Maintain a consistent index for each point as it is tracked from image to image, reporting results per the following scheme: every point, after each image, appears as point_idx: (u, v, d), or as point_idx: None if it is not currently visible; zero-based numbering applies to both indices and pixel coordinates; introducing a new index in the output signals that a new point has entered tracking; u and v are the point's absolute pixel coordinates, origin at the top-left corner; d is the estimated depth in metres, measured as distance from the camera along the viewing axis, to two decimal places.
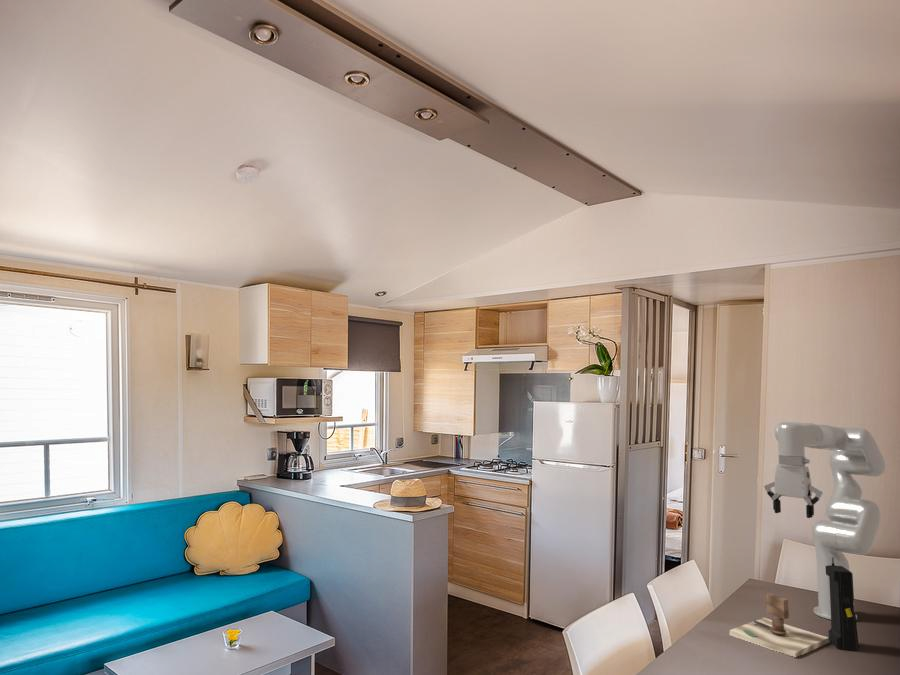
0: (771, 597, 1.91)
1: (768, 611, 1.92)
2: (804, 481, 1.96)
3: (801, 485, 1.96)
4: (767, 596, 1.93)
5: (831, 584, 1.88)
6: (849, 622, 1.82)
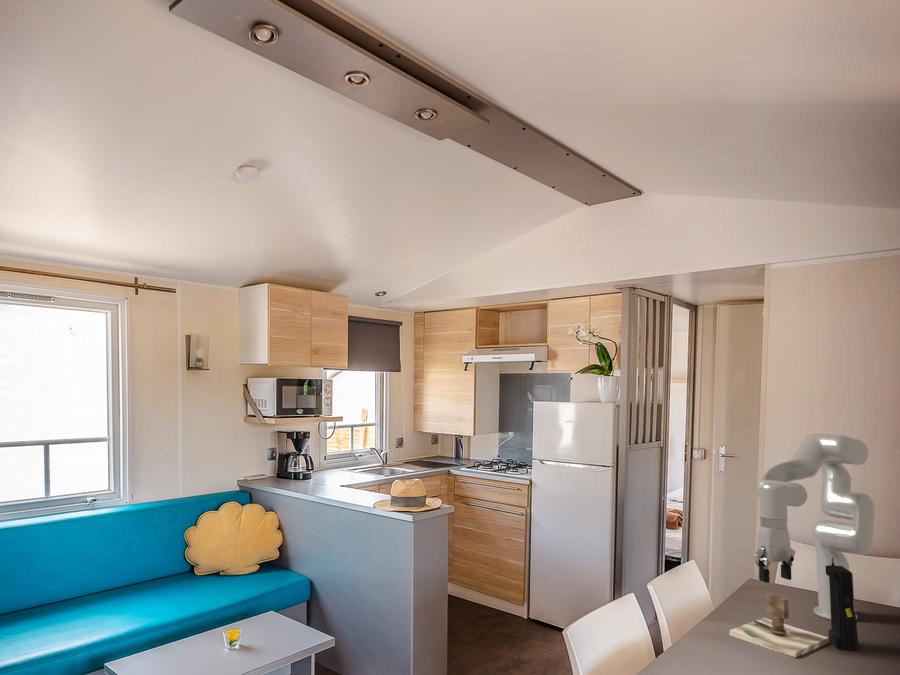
0: (771, 597, 1.91)
1: (768, 611, 1.92)
2: (789, 543, 1.92)
3: (788, 547, 1.91)
4: (767, 596, 1.93)
5: (831, 584, 1.88)
6: (849, 622, 1.82)
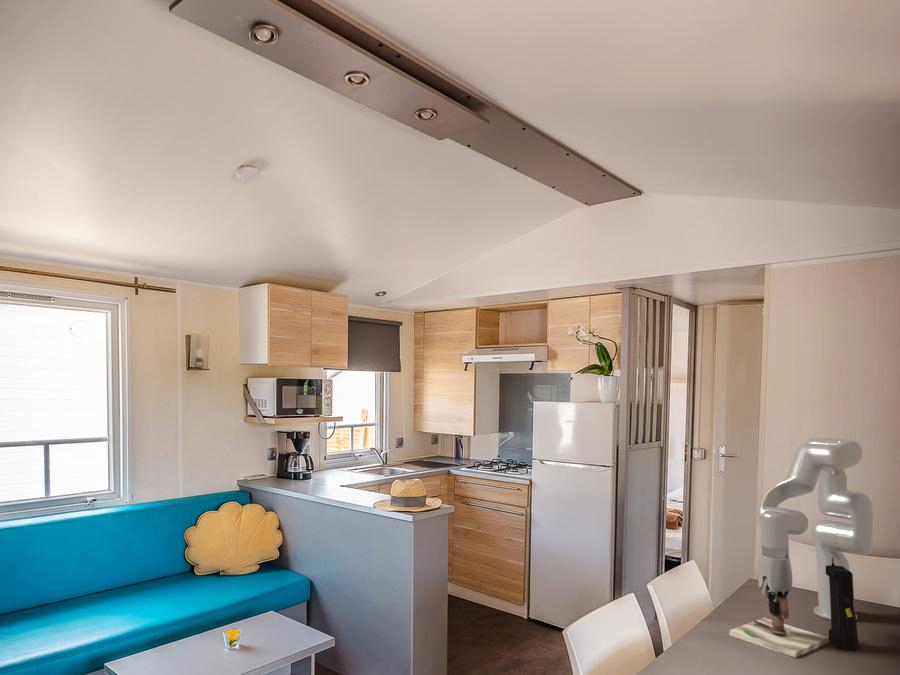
0: None
1: (768, 611, 1.92)
2: (791, 571, 1.91)
3: (790, 576, 1.91)
4: None
5: (831, 584, 1.88)
6: (849, 622, 1.82)
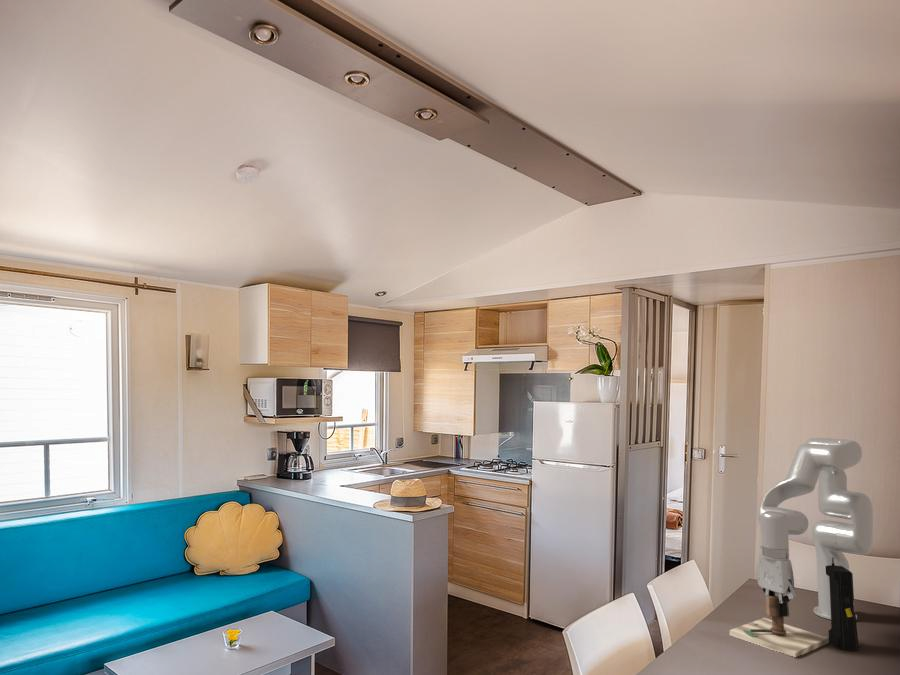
0: (774, 599, 1.90)
1: (771, 614, 1.89)
2: None
3: None
4: (770, 599, 1.90)
5: (831, 584, 1.88)
6: (849, 622, 1.82)
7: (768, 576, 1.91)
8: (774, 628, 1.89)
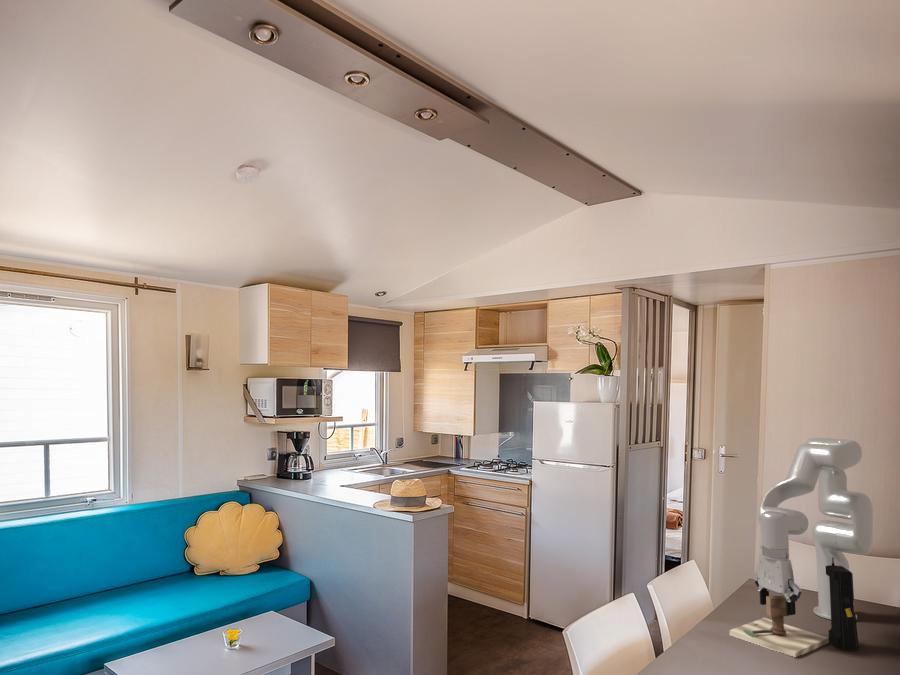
0: (775, 599, 1.90)
1: (772, 615, 1.89)
2: None
3: None
4: (771, 599, 1.89)
5: (831, 584, 1.88)
6: (849, 622, 1.82)
7: (768, 576, 1.91)
8: (775, 628, 1.89)
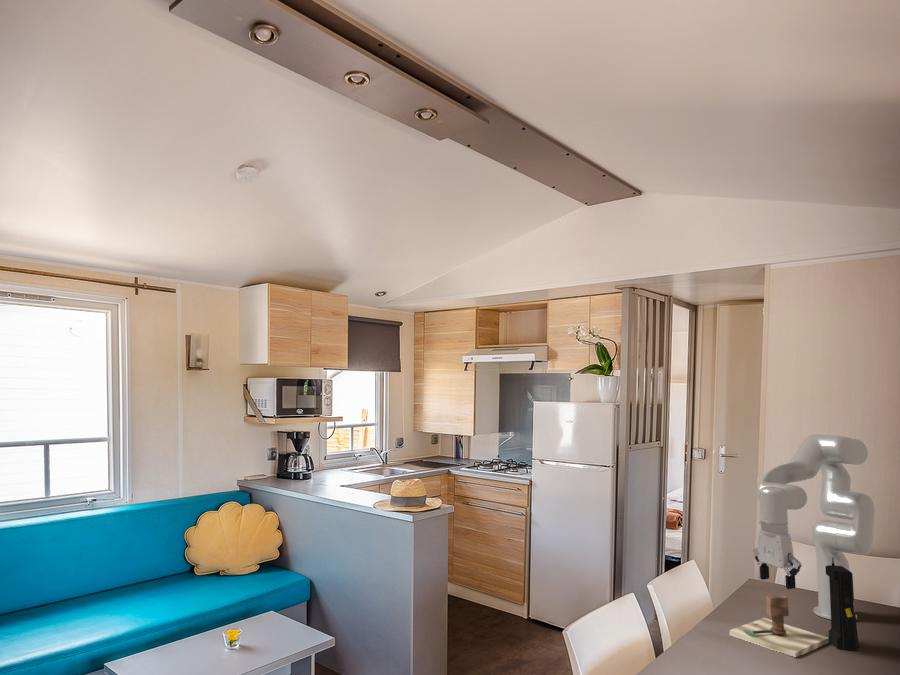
0: (775, 599, 1.89)
1: (772, 615, 1.89)
2: None
3: None
4: (771, 600, 1.89)
5: (831, 584, 1.88)
6: (849, 622, 1.82)
7: (768, 551, 1.91)
8: (775, 628, 1.89)
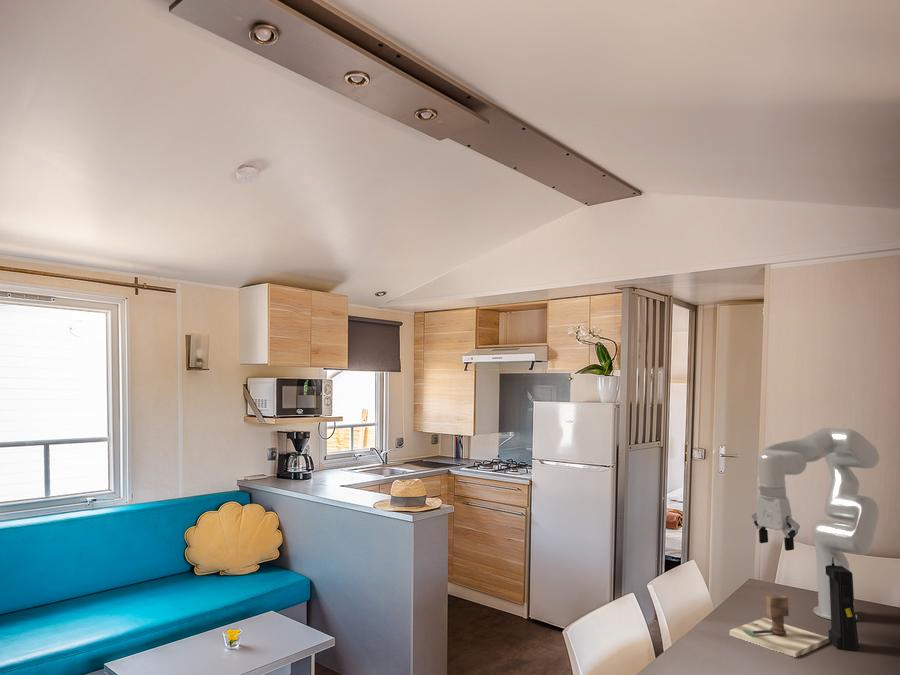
0: (775, 599, 1.89)
1: (772, 615, 1.89)
2: None
3: None
4: (771, 600, 1.89)
5: (831, 584, 1.88)
6: (849, 622, 1.82)
7: (767, 514, 1.97)
8: (775, 628, 1.89)
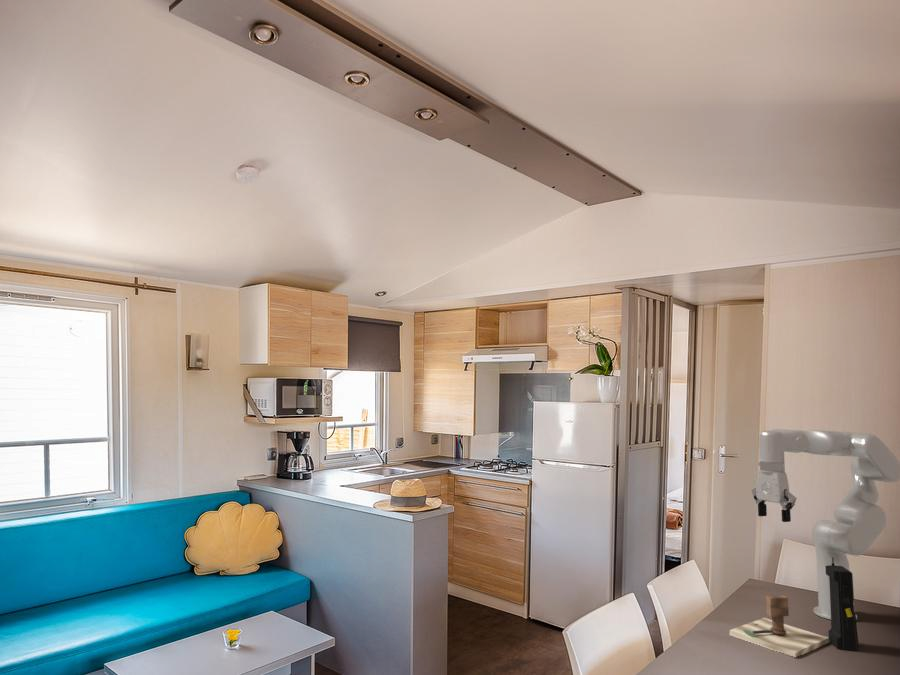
0: (775, 599, 1.89)
1: (772, 615, 1.89)
2: None
3: None
4: (771, 600, 1.89)
5: (831, 584, 1.88)
6: (849, 622, 1.82)
7: (766, 488, 2.08)
8: (775, 628, 1.89)
